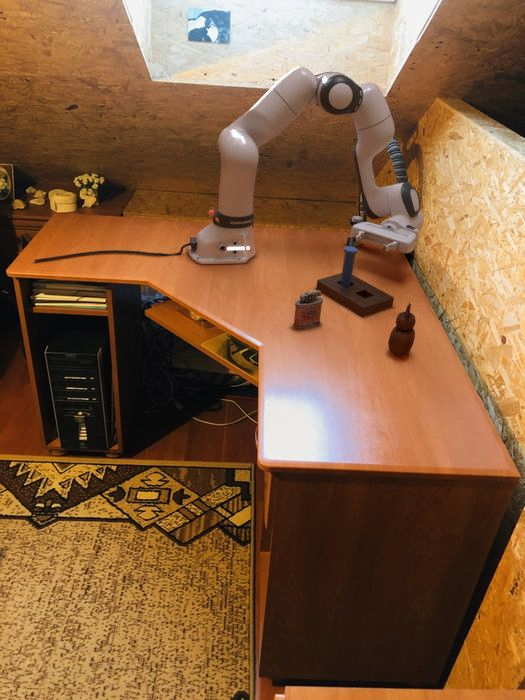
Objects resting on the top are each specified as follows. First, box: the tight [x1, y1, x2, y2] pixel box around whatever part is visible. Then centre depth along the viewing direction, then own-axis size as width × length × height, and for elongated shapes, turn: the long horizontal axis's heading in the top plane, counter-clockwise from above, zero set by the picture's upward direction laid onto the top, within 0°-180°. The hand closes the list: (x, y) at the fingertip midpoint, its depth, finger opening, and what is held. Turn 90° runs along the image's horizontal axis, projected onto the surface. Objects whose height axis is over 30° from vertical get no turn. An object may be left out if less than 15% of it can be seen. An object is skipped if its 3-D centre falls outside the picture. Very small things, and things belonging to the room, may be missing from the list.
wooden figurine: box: [387, 302, 417, 358], centre depth 142 cm, size 7×6×15 cm
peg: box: [340, 245, 358, 288], centre depth 169 cm, size 4×4×14 cm
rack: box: [316, 272, 395, 318], centre depth 169 cm, size 12×20×3 cm, turn 36°
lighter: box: [292, 290, 324, 331], centre depth 152 cm, size 8×3×10 cm, turn 118°
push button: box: [346, 215, 366, 247], centre depth 202 cm, size 7×5×10 cm
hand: (371, 243), depth 174 cm, fingers open, 8 cm apart
